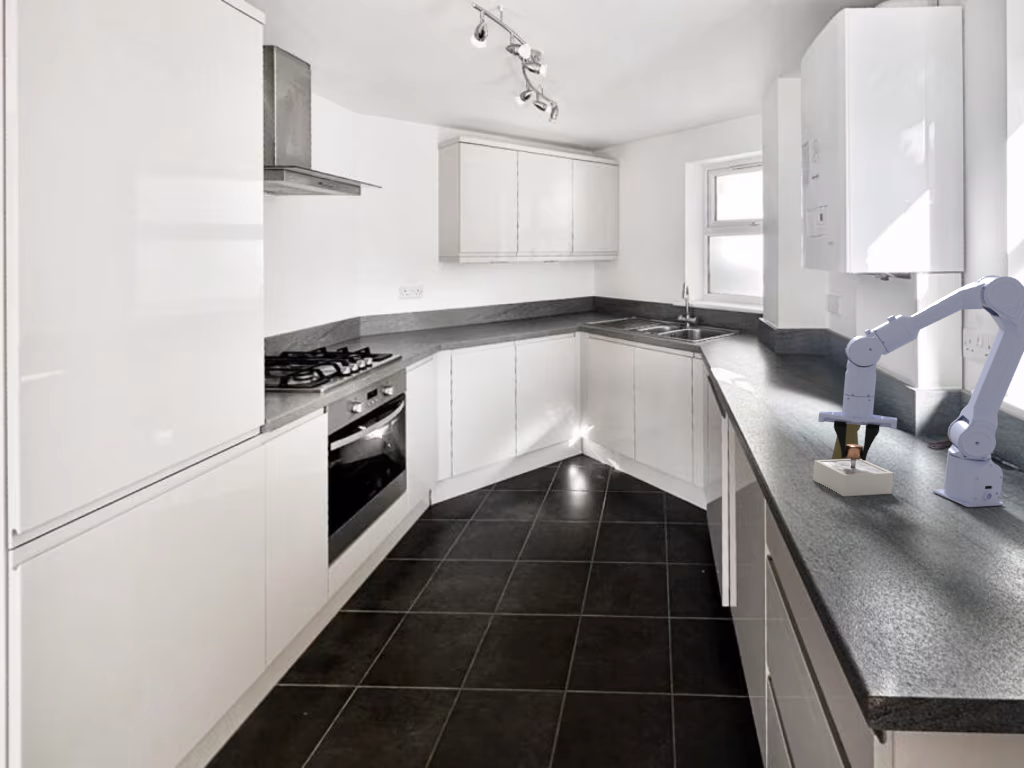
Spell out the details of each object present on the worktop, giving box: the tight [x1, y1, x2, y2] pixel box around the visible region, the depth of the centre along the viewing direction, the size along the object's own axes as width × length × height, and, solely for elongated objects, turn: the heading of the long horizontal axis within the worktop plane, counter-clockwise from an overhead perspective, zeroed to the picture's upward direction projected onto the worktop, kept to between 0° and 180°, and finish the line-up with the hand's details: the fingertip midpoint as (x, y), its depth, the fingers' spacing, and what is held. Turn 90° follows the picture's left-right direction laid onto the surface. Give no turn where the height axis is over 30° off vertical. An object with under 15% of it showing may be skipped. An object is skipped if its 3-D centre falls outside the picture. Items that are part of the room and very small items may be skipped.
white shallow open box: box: [812, 459, 894, 497], centre depth 149 cm, size 13×11×4 cm
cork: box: [830, 424, 862, 460], centre depth 165 cm, size 6×6×11 cm
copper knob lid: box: [822, 444, 885, 474], centre depth 147 cm, size 9×9×5 cm
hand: (853, 458), depth 147 cm, fingers closed on copper knob lid, 3 cm apart
